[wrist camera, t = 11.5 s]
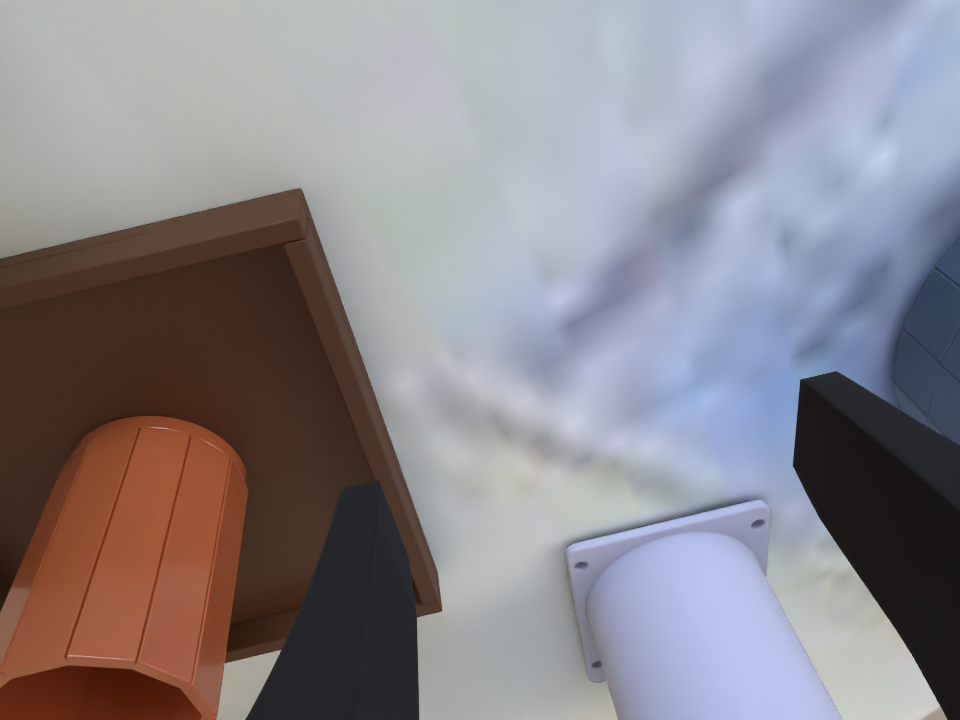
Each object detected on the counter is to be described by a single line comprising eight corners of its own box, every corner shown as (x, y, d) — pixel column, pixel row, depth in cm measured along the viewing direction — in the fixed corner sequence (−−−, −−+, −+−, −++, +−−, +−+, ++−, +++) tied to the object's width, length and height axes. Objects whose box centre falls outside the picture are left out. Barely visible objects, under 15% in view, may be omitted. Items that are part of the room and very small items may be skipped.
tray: (437, 572, 29) (442, 611, 28) (77, 657, 29) (63, 702, 28) (301, 186, 20) (297, 217, 18) (-237, 314, 20) (-283, 354, 18)
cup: (272, 515, 26) (247, 753, 19) (117, 552, 26) (41, 803, 19) (209, 396, 22) (155, 634, 16) (32, 438, 22) (-93, 693, 16)
